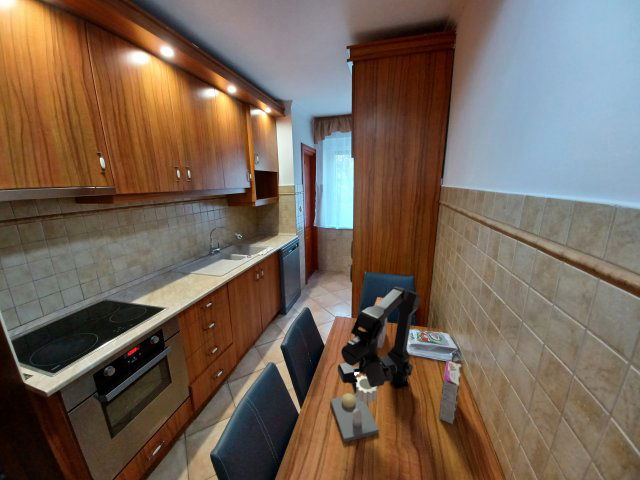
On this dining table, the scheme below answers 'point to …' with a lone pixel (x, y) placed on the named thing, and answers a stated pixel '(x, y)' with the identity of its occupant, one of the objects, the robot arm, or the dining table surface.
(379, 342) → the cracker box
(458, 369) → the candy bar box
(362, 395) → the planet gear
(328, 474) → the dining table surface
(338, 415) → the carrier board
